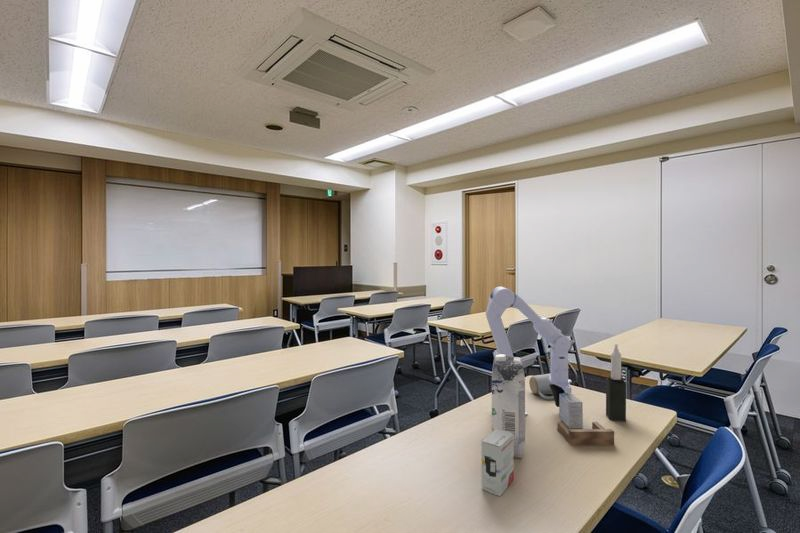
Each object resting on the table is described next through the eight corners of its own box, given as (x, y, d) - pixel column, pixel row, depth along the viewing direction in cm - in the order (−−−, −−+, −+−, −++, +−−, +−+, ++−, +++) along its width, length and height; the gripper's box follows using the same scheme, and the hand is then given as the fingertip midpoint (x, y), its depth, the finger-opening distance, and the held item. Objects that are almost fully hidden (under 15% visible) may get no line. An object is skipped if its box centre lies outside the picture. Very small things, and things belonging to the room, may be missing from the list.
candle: (627, 421, 123) (627, 346, 122) (610, 420, 124) (610, 345, 123) (621, 415, 128) (621, 342, 127) (604, 413, 129) (605, 342, 128)
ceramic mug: (528, 390, 152) (528, 372, 151) (547, 389, 152) (547, 371, 152) (540, 401, 141) (541, 381, 141) (561, 400, 142) (561, 380, 142)
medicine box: (583, 429, 118) (583, 402, 118) (569, 429, 118) (569, 402, 118) (572, 418, 126) (572, 392, 126) (558, 418, 126) (558, 392, 126)
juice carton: (523, 442, 110) (523, 351, 109) (525, 461, 100) (525, 361, 99) (492, 438, 112) (492, 349, 111) (491, 457, 102) (491, 359, 101)
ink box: (496, 472, 95) (496, 426, 95) (514, 479, 92) (514, 432, 92) (480, 489, 88) (480, 440, 88) (500, 497, 85) (499, 446, 85)
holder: (570, 445, 108) (571, 431, 108) (557, 429, 117) (557, 417, 117) (614, 445, 108) (614, 431, 108) (597, 429, 117) (597, 417, 117)
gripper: (580, 374, 123) (580, 414, 124) (561, 361, 138) (561, 398, 138) (559, 374, 123) (559, 415, 124) (542, 361, 138) (542, 398, 138)
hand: (559, 406), depth 131 cm, fingers closed
